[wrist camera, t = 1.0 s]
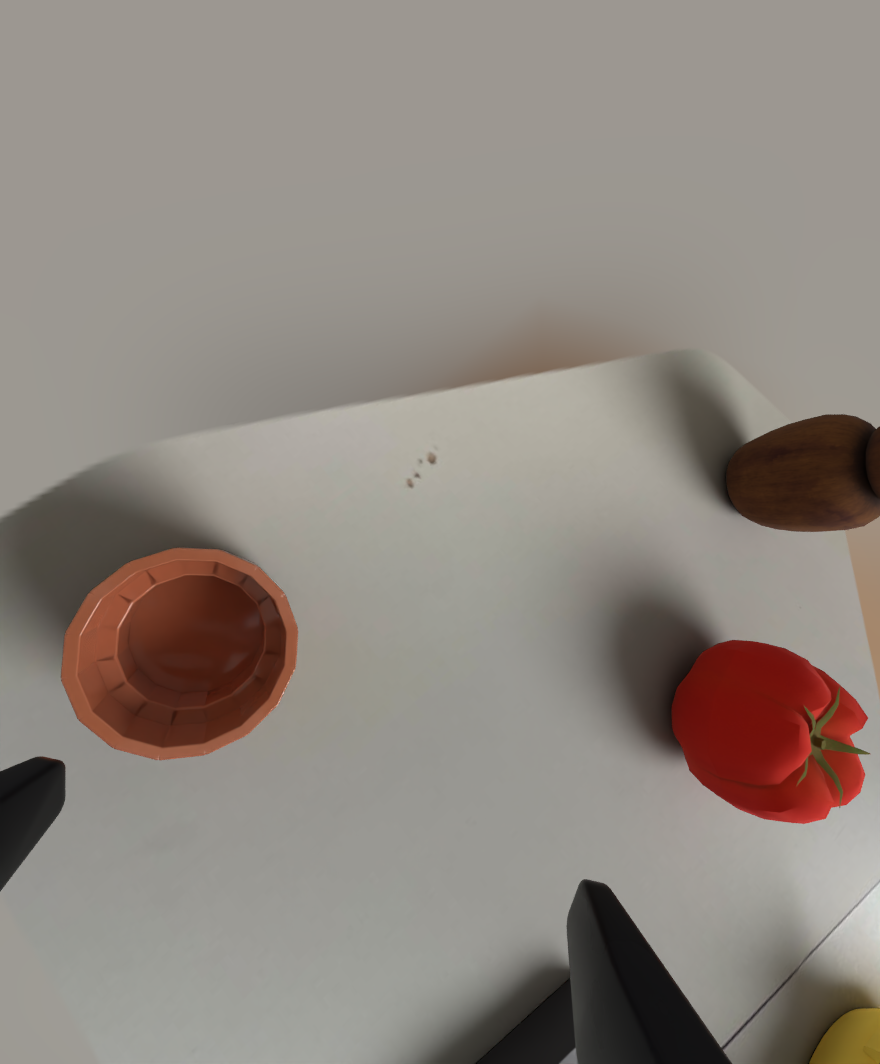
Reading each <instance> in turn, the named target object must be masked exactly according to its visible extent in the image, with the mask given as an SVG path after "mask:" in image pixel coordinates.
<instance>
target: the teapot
mask: <svg viewBox="0 0 880 1064" xmlns="http://www.w3.org/2000/svg"><path fill="white" fill-rule="evenodd" d="M809 1064H880V1008H868V1009H863V1008H861V1009H855V1010H852V1011H849V1012H848V1013H846V1014H844V1015H843V1016H841V1017H840V1018H839V1019H838V1020H837V1021H836V1022H835V1023H834V1024H833V1025H832V1026H831V1027H830V1028H829V1030H828V1031H827V1032H826V1034H825V1035H824V1036H823V1038H822V1039H821V1041H820V1043H819V1044H818V1046H817V1048H816V1050H815V1052H814V1054H813V1056H812V1058H811V1060H810V1063H809Z"/></svg>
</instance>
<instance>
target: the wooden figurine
mask: <svg viewBox="0 0 880 1064" xmlns="http://www.w3.org/2000/svg"><path fill="white" fill-rule="evenodd" d="M726 484H727V489H728V494H729V497H730V499H731V501H732V503H733V505H734V506H735V508H736V509H737V510H738V512H739V513H740V514H741V515H742V516H744V517H745V518H747V519H749V520H751V521H753V522H755V523H757V524H760V525H762V526H766V527H770V528H774V529H779V530H788V531H802V532H819V531H836V530H848V529H852V528H857V527H861V526H865V525H866V524H868V523H870V522H871V521H873V520H874V519H876V518H878V517H879V516H880V427H878V428H877V429H875V428H874V427H873V426H872V425H871V424H870V423H868V422H866V421H864V420H862V419H860V418H858V417H855V416H849V415H822V416H818V417H814V418H810V419H805V420H802V421H798V422H795V423H791V424H788V425H786V426H783V427H780V428H778V429H775V430H773V431H770V432H768V433H766V434H764V435H762V436H760V437H758V438H756V439H754V440H752V441H750V442H748V443H746V444H745V445H744V446H742V447H741V448H739V449H738V450H737V451H736V452H735V454H734V455H733V457H732V458H731V460H730V461H729V463H728V467H727V472H726Z"/></svg>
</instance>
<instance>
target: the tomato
mask: <svg viewBox="0 0 880 1064" xmlns="http://www.w3.org/2000/svg"><path fill="white" fill-rule="evenodd" d="M867 719H868V717H867V716H866V714H865V713H864V711H863V710H862V708H861V707H860V705H859V704H858V703H857V701H856V700H855V699H854V698H853V697H852V696H851V695H850V694H849V693H848V692H847V691H846V690H845V689H844V688H843V687H842V686H841V685H839V684H838V683H837V682H836V681H835V680H833V679H832V678H831V677H830V676H829V675H827V674H826V673H825V672H824V671H822V670H820V669H818V668H816V667H814V666H812V665H811V664H810V663H809V661H808V660H806V659H804V658H802V657H800V656H798V655H797V654H795V653H793V652H791V651H789V650H787V649H785V648H781V647H777V646H773V645H769V644H765V643H759V642H753V641H739V640H731V641H727V642H723V643H719V644H717V645H715V646H713V647H711V648H709V649H707V650H705V651H703V652H702V653H701V655H700V656H699V657H698V658H697V660H696V661H695V663H694V665H693V666H692V668H691V670H690V672H689V673H688V674H687V676H686V677H685V678H684V679H683V681H682V682H681V683H680V684H679V686H678V687H677V690H676V693H675V696H674V700H673V703H672V729H673V732H674V735H675V736H676V738H677V740H678V742H679V743H680V745H681V747H682V749H683V752H684V755H685V759H686V761H687V764H688V767H689V770H690V771H691V772H692V774H693V775H694V776H695V777H696V778H697V779H698V780H699V781H700V782H701V783H702V784H703V785H704V786H706V787H707V788H708V789H710V790H711V791H712V792H714V793H715V794H716V795H718V796H719V797H721V798H722V799H724V800H725V801H727V802H728V803H730V804H732V805H733V806H735V807H736V808H738V809H739V810H742V811H745V812H747V813H750V814H752V815H755V816H758V817H760V818H763V819H767V820H775V821H783V822H791V823H802V824H805V823H809V822H813V821H817V820H822V819H826V817H827V815H828V813H829V811H830V809H831V808H832V807H837V806H843V805H847V804H848V803H849V802H850V801H851V800H852V799H853V798H854V797H856V796H857V795H858V794H859V793H860V791H861V788H862V784H863V781H864V777H865V773H864V770H863V767H862V765H861V762H860V760H859V757H858V754H870V753H868V752H865V751H863V750H861V749H858V748H855V747H854V744H853V742H852V740H851V738H850V735H852V734H853V733H855V732H857V731H859V730H861V729H862V728H863V726H864V724H865V723H866V721H867Z"/></svg>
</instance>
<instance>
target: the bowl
mask: <svg viewBox="0 0 880 1064" xmlns="http://www.w3.org/2000/svg"><path fill="white" fill-rule="evenodd" d="M65 633H66V634H65V635H64V645H63V657H62V668H61V681H62V684H63V686H64V688H65V691H66V693H67V695H68V698H69V700H70V702H71V705H72V707H73V709H74V712H75V714H76V716H77V718H78V719H79V721H80V722H81V723H82V724H84V725H85V726H86V727H87V728H89V729H90V730H91V731H92V732H94V733H95V734H96V735H97V736H98V737H100V738H101V739H102V740H103V741H105V742H106V743H107V744H108V745H109V746H111V747H112V748H114V749H117V750H121V751H125V752H128V753H132V754H136V755H140V756H143V757H147V758H151V759H155V760H158V759H159V760H166V759H175V758H184V757H193V756H202V755H205V754H209V753H211V752H213V751H215V750H217V749H219V748H221V747H224V746H226V745H228V744H230V743H232V742H234V741H236V740H238V739H240V738H242V737H244V736H246V735H247V734H249V733H250V732H251V731H252V730H253V729H254V728H255V727H256V726H257V725H258V724H259V723H260V722H261V721H262V720H263V719H264V718H265V717H266V716H267V715H268V714H269V713H270V712H271V711H272V710H273V709H274V708H275V707H276V706H277V705H278V704H279V702H280V700H281V698H282V696H283V694H284V692H285V690H286V687H287V685H288V683H289V681H290V679H291V677H292V675H293V673H294V671H295V667H296V658H297V642H298V627H297V624H296V622H295V619H294V616H293V613H292V611H291V608H290V605H289V603H288V600H287V597H286V595H285V593H284V592H283V591H282V590H281V589H280V588H279V587H278V586H277V585H276V584H275V583H274V582H273V581H272V580H271V579H270V578H269V577H268V576H267V575H266V573H265V572H264V571H263V570H262V569H261V568H260V567H259V566H257V565H256V564H254V563H253V562H251V561H249V560H246V559H244V558H242V557H239V556H237V555H235V554H232V553H230V552H228V551H225V550H221V549H201V548H171V549H168V550H165V551H161V552H158V553H155V554H152V555H149V556H145V557H142V558H139V559H136V560H132V561H130V562H129V563H126V564H125V565H123V566H122V567H121V568H119V569H118V570H117V571H115V572H114V573H113V574H112V575H110V576H109V577H108V578H106V579H105V580H104V581H102V582H101V583H100V584H99V585H97V586H96V587H95V588H93V589H92V590H91V591H90V592H89V593H88V594H87V596H86V598H85V599H84V601H83V603H82V604H81V606H80V608H79V610H78V611H77V613H76V615H75V616H74V618H73V620H72V621H71V623H70V625H69V627H68V628H67V630H66V632H65Z"/></svg>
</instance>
